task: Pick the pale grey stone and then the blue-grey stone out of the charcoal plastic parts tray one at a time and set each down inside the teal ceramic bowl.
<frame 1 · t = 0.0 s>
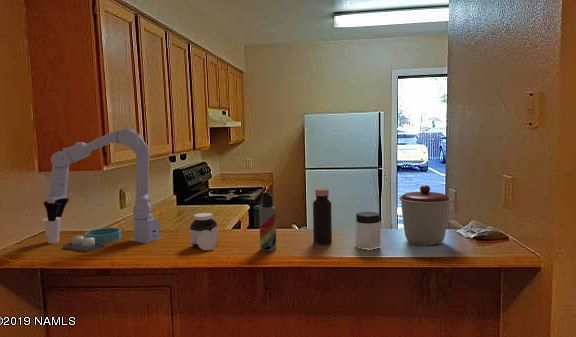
hand: (54, 218, 160), 11 cm above the countertop, tool pointing down, fingers open, 7 cm apart
canister: (424, 243, 155), on the countertop
vinegar: (322, 243, 158), on the countertop
lotion bottle: (268, 250, 151), on the countertop
pale stone: (89, 248, 156), resting on parts tray
parts tray: (83, 248, 157), on the countertop
spread jar: (206, 247, 156), on the countertop
slate stone: (78, 246, 159), resting on parts tray
smoothie: (53, 243, 166), on the countertop
bowl: (104, 240, 169), on the countertop
jar: (367, 247, 151), on the countertop
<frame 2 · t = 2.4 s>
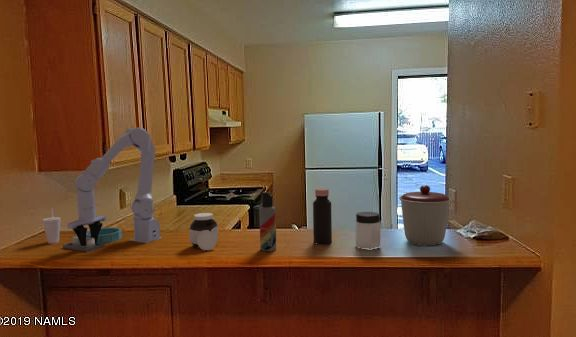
hand: (88, 244, 156), 2 cm above the countertop, tool pointing down, fingers closed on pale stone, 4 cm apart
pale stone: (89, 248, 156), resting on parts tray, touching gripper
everything else where it was.
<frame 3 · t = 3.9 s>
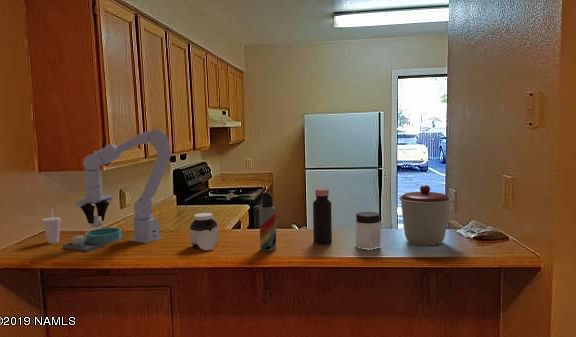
hand: (96, 222, 161), 9 cm above the countertop, tool pointing down, fingers closed on pale stone, 4 cm apart
pale stone: (96, 226, 161), point 7 cm above the countertop, touching gripper
everything else where it was.
when the fingers open (4 cm above the countertop, at t = 5.8 s): pale stone drops 2 cm, resting on bowl.
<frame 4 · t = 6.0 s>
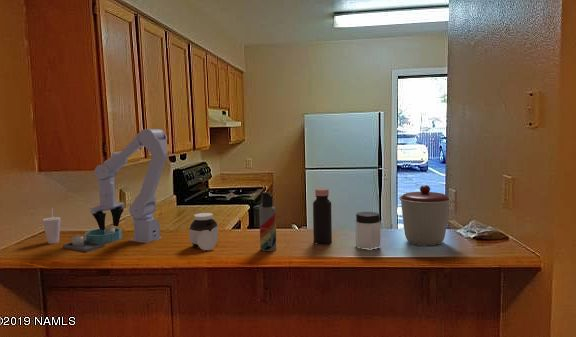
hand: (109, 227, 171), 4 cm above the countertop, tool pointing down, fingers open, 6 cm apart
pale stone: (110, 236, 171), point 1 cm above the countertop, touching bowl
everything else where it was.
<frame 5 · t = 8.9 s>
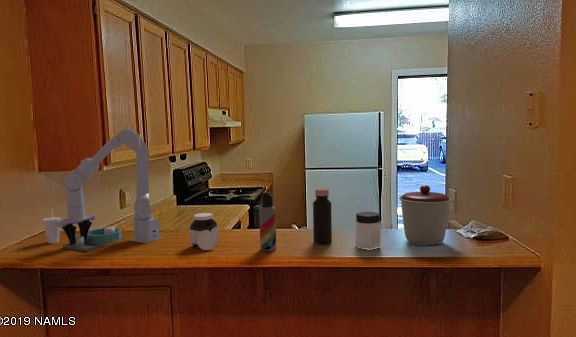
hand: (78, 242, 159), 2 cm above the countertop, tool pointing down, fingers closed on slate stone, 4 cm apart
slate stone: (78, 246, 159), resting on parts tray, touching gripper
everything else where it was.
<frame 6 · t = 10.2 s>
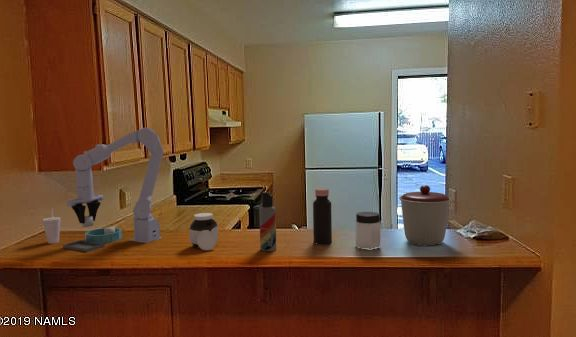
hand: (87, 221, 162), 9 cm above the countertop, tool pointing down, fingers closed on slate stone, 4 cm apart
slate stone: (87, 225, 162), point 7 cm above the countertop, touching gripper
everything else where it was.
when the fingers open (4 cm above the countertop, at t = 11.7 s): slate stone drops 2 cm, resting on bowl.
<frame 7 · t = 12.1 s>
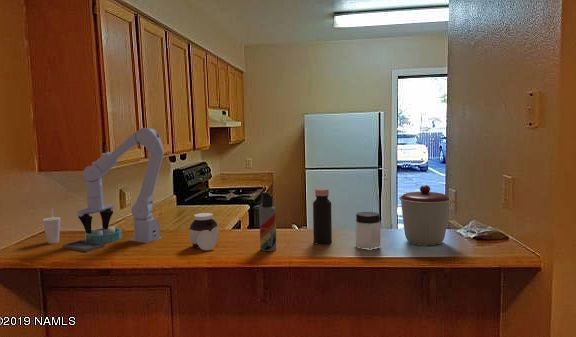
hand: (97, 231, 166), 4 cm above the countertop, tool pointing down, fingers open, 7 cm apart
slate stone: (97, 239, 166), point 1 cm above the countertop, touching bowl
everything else where it was.
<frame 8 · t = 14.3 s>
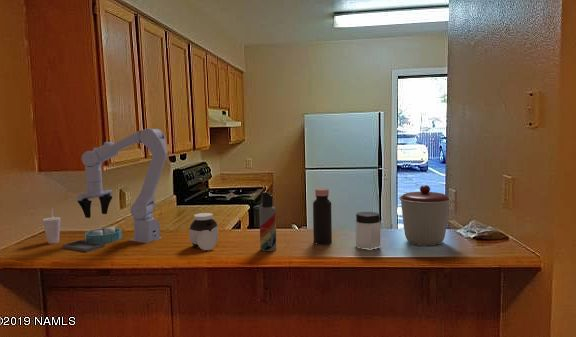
hand: (96, 215, 168), 10 cm above the countertop, tool pointing down, fingers open, 7 cm apart
nothing on the countertop moved.
at the end: pale stone inside the target area on the bowl (2.9 cm from its centre), point 0.8 cm above the bowl's base; slate stone inside the target area on the bowl (2.7 cm from its centre), point 0.8 cm above the bowl's base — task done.
